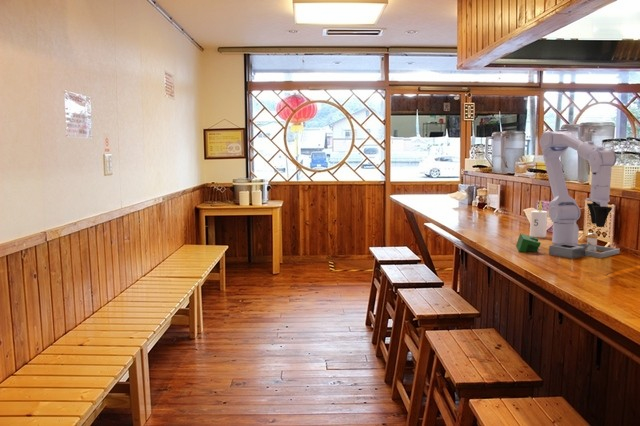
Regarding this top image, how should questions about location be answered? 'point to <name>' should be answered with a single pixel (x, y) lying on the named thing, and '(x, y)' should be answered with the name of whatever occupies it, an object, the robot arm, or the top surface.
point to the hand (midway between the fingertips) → (597, 225)
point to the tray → (607, 250)
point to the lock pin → (591, 242)
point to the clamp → (527, 243)
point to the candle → (538, 222)
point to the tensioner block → (567, 250)
